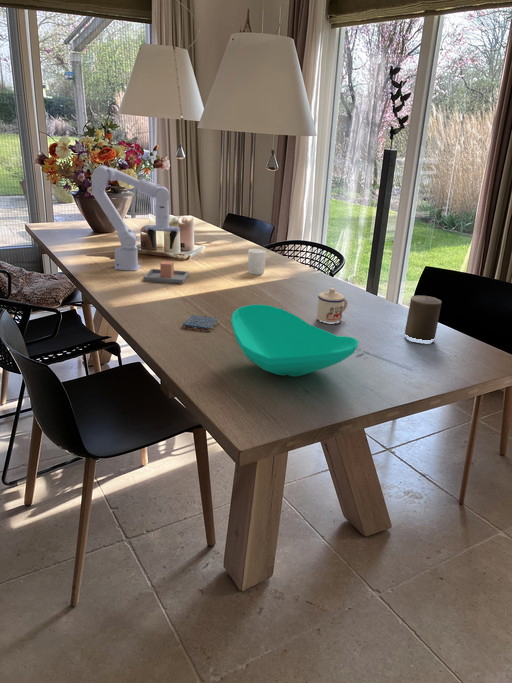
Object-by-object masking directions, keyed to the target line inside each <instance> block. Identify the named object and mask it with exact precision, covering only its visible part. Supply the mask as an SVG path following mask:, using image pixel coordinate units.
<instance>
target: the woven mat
mask: <svg viewBox="0 0 512 683" xmlns="http://www.w3.org/2000/svg"><path fill="white" fill-rule="evenodd" d="M219 321H220V319H219V318H216V317H214V318H213V317H208V316H202V315H201V316H199V314H198V315H194V314H192V315H190V316H189V317H187V319H186V320H185V321H184V322H183V324H182V326H181V328H182V329H185V328H187V329H186V330H192V329H194V330H195V331H200V330H202V331H201V332H207V331H208V332H209V333H211V332H212V331H213V330H214V329H215V328H216V327H217V326H218V324H219V323H220V322H219ZM184 326H185V327H184ZM203 329H204V330H203ZM208 332H207V333H208Z"/></svg>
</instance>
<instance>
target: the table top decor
mask: <svg viewBox="0 0 512 683" xmlns="http://www.w3.org/2000/svg"><path fill="white" fill-rule="evenodd" d="M231 326H232V329H233V333H234V336H235V340H236V341H237V343H238V345H239V347H240V348H241V351H242V353H244V356H246V358H247V359H248V360H249V361H250V362H252V363H254V364H255V365H256V366H258V367H259V368H260V369H262V370H263V371H267V372H269V373H272V374H274V375H278V376H284V377H285V375H289V376H288V377H300V376H304V375H308V374H310V373H314V372H318V371H319V370H320V371H321V370H323V369H327V368H329V367H332V366H334V365H337V364H338V363H339V364H340V363H341V362H343V361H344V360H346V359H347V358H349V357H350V356H352V355H353V354H354V353H355V351H356V350H357V348H358V345H359V344H360V343H359V341H358V340H357V338H356V337H352V336H348V335H347V336H346V335H345V336H343V335H336V334H333V333H332V332H330V331H327V330H324V329H322V328H319V327H316V326H314V325H311V324H310V323H308V322H306V321H305V320H303V319H302V318H301V317H298V316H297V315H296V314H293V313H291V312H289V311H287V310H284V309H283V308H279V307H276V306H272V305H268V304H250V305H245V306H241V307H239V308H237V309H235V311H234V312H233V313H232V314H231Z"/></svg>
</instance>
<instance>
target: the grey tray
mask: <svg viewBox="0 0 512 683" xmlns="http://www.w3.org/2000/svg"><path fill="white" fill-rule="evenodd" d="M189 273H190V272H189V270H188V271H187V270H174V276H173V277H172V278H160V269H158V268H151V269H150V270H149V271H147V273H146V274H145V275H144V276H143V282H149V283H150V282H151V283H162V282H168V283H167V284H175V283H182V284H181V285H183V284H184V283H185V282H186V280H187V279H188V277H189V275H190V274H189ZM183 282H184V283H183Z"/></svg>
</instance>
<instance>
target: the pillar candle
mask: <svg viewBox="0 0 512 683" xmlns="http://www.w3.org/2000/svg"><path fill="white" fill-rule="evenodd" d="M409 302H410V303H409V306H408V307H409V308H408V311H407V312H408V314H407V319H406V323H405V324H406V325H405V328H404V335H405V334H406V335H408V336H409V337H412V338H416V339H422V340H431V339H434V338H435V339H436V335H437V328H438V325H439V324H438V323H439V318H440V312H441V308H442V300H441V299H438V298H437V297H433V296H428V295H412V296H411V297H410V301H409Z"/></svg>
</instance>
